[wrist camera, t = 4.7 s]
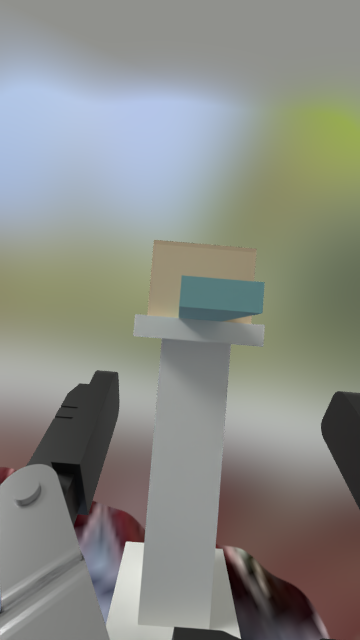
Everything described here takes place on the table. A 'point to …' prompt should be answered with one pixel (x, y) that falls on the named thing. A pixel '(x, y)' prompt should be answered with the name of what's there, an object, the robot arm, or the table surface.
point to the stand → (182, 488)
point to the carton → (204, 282)
